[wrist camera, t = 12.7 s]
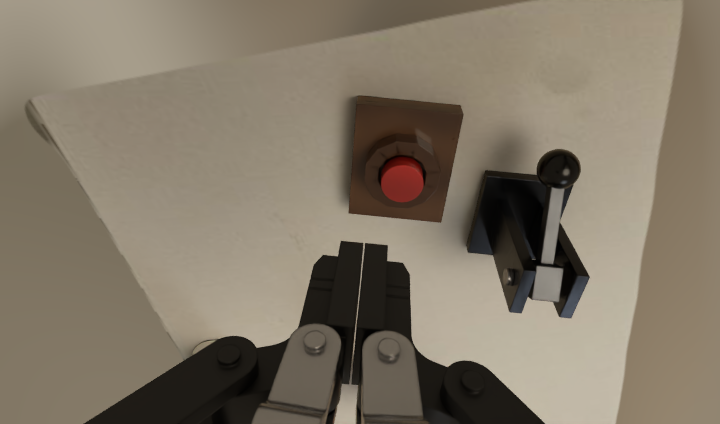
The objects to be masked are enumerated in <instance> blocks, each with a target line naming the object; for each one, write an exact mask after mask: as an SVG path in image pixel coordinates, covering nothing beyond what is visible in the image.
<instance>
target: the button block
mask: <svg viewBox="0 0 720 424" xmlns="http://www.w3.org/2000/svg"><path fill="white" fill-rule="evenodd" d="M462 119H463V112H462V109H461V106H460V105H451V104H441V103H430V102H420V101H409V100H399V99H388V98H378V97H367V96H358V100H357V105H356V118H355V132H354V146H353V160H352V173H351V187H350V201H349V213H351V214H361V215H371V216H381V217H391V218H401V219H411V220H421V221H431V222H441V221H442V216H443V211H444V206H445V201H446V196H447V192H448V187H449V182H450V177H451V172H452V167H453V162H454V158H455V153H456V148H457V143H458V138H459V133H460V129H461V124H462ZM401 156H404V157H409V158H412V159H414V160H415V161H417V162H418V163H419V165H420V166H421V168H422V172H423V181H424V185H423V189H422V191H421V193H420V194H419V195H418V196H417V197H416V198H415V199H413V200H411V201H408V202H396V201H393V200H391V199H389V198H388V197H387V196H386V195H385V194H384V193H383V191H382V188H381V173H382V169H383V167H384V165H385V164H386V163H387V162H388V161H389V160H391V159H393V158H396V157H401Z"/></svg>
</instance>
